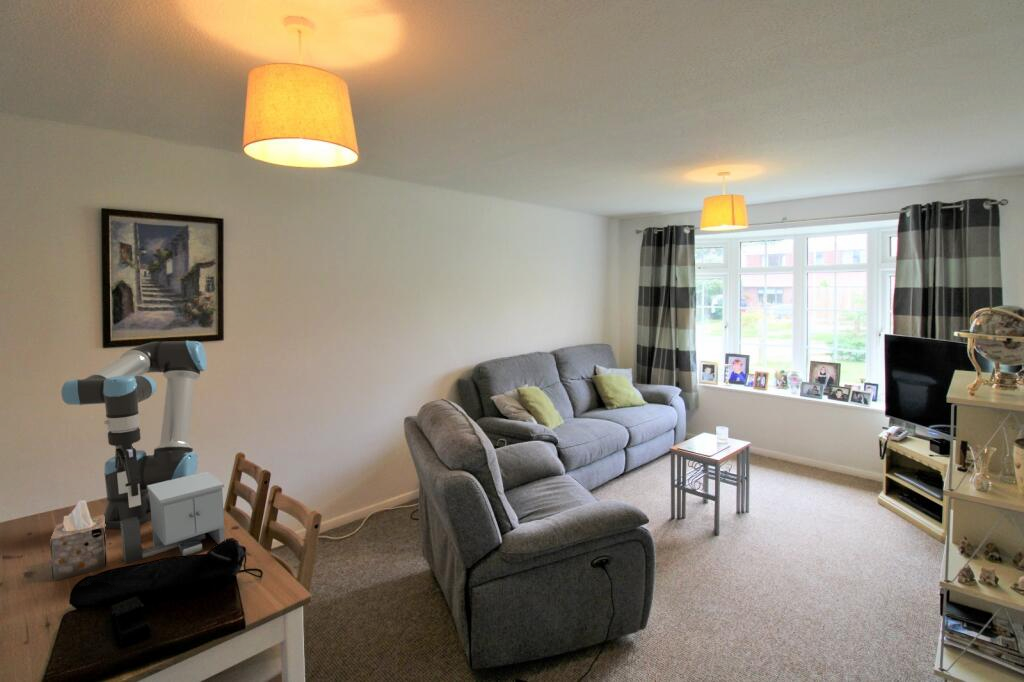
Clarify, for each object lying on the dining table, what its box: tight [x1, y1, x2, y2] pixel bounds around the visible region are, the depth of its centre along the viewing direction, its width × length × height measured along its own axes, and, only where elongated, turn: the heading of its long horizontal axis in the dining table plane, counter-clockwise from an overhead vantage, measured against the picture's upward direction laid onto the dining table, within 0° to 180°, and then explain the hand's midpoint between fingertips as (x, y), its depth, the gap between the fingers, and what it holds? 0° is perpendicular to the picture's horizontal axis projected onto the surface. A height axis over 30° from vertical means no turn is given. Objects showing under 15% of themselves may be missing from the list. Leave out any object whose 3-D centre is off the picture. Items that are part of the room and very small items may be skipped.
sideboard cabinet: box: [147, 471, 226, 547], centre depth 159 cm, size 17×17×20 cm
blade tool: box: [120, 517, 206, 565], centre depth 158 cm, size 4×21×12 cm, turn 137°
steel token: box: [178, 538, 203, 557], centre depth 158 cm, size 5×5×2 cm
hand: (129, 499), depth 151 cm, fingers open, 13 cm apart
